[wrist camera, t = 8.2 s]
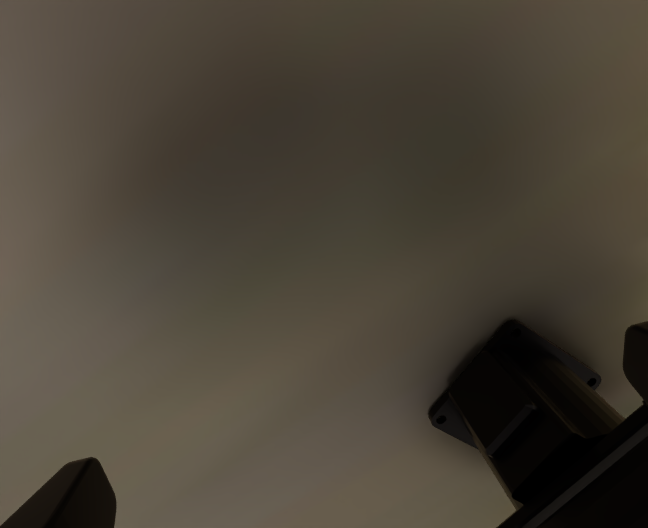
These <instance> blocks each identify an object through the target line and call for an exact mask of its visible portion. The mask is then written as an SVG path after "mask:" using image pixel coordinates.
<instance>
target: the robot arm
mask: <svg viewBox="0 0 648 528" xmlns="http://www.w3.org/2000/svg"><path fill="white" fill-rule="evenodd" d="M516 328H517V329H516ZM513 329H516V331H515V332H514V333H512V334H511V331H512V330H513ZM623 370H624V373H625V376H626V378H627V379H628V381H629V382H630V383H631V385H632V386H633V387H634V388H635V390H636V391H637V392H638V393H639V395H640V396H641V397H642V398H643V401H642V403H643V405H642V406H641V407H639V408H638V409H637V410H636V411H635V412H633V413H632V414H631V415H630V416H629V417H627V418H626V419H625V418H623V417H622V416H621V415H620V414H619V413H618V412H617V411H616V410H615V409H614V408H613V407H611V406H610V405H609V404H608V403H607V402H606V401H605V400H604V399H603V398H602V397H600V396H599V395H598V394H597V393H596V392H595V391H594V390H595V389H596V388H597V387H598V386H599V384H600V382H601V377H600V376H599V375H598V374H597V373H596V372H595V371H594V370H592V369H591V368H589V367H588V366H586V365H585V364H583V363H582V362H580V361H579V360H577V359H576V358H574V357H573V356H571V355H570V354H568V353H567V352H565V351H564V350H562V349H561V348H559V347H557V346H556V345H554V344H553V343H551V342H550V341H548V340H547V339H545V338H544V337H542V336H541V335H539V334H538V333H536V332H535V331H533V330H532V329H530V328H529V327H527V326H526V325H524V324H523V323H521V322H520V321H518V320H509V321H507V322H506V323H505V324H504V325H503V326H502V327H501V328H500V329H499V331H498V332H497V333H496V334H495V335H494V336H493V338H492V339H491V340H490V341H489V342H488V344H487V345H486V346H485V347H484V348H483V349H482V351H481V352H480V353H479V354H478V355H477V356H476V358H475V359H474V360H473V361H472V362H471V364H470V365H469V366H468V367H467V368H466V369H465V371H464V372H463V373H462V374H461V375H460V377H459V378H458V379H457V380H456V381H455V382H454V384H453V385H452V386H451V387H450V388H449V389H448V391H447V392H446V393H445V394H444V395H443V397H442V398H441V399H440V400H439V401H438V402H437V404H436V405H435V406H434V407H433V408H432V409H431V411H430V413H429V419H430V421H431V423H432V425H433V426H434V427H436V428H438V429H440V430H442V431H444V432H445V433H447V434H449V435H451V436H453V437H455V438H457V439H459V440H461V441H463V442H465V443H467V444H469V445H471V446H473V447H475V448H477V449H479V450H480V452H481V454H482V455H483V457H484V458H485V460H486V462H487V463H488V465H489V467H490V468H491V470H492V471H493V473H494V475H495V476H496V478H497V480H498V481H499V483H500V484H501V486H502V488H503V489H504V491H505V493H506V494H507V496H508V497H509V499H510V501H511V502H512V504H513V506H514V507H515V509H516V510H517V511H515V512H514V513H513V514H512V515H511V516H510V517H508V518H507V519H506V520H505V521H504V522H502V523H501V524H500V525H499V526H498V527H496V528H648V321H647V322H643V323H639V324H635V325H631V326H630V327H628V329H627V330H626V332H625V342H624V354H623ZM589 379H590V380H589ZM588 380H589V381H588ZM441 415H443V416H442V417H441V418H438V417H439V416H441ZM437 418H438V419H437ZM115 516H116V497H115V493H114V491H113V489H112V487H111V485H110V483H109V480H108V478H107V476H106V474H105V472H104V470H103V468H102V466H101V464H100V462H99V461H98V460H97V459H96V458H93V457H89V458H85V459H80V460H76V461H72V462H69V463H67V464H66V465H64V466H63V467H62V468H61V469H60V470H59V471H58V472H57V473H56V474H55V475H54V476H53V477H52V478H51V479H50V480H48V481H47V482H46V483H45V484H44V485H43V486H42V487H41V488H40V489H39V490H38V491H37V492H36V493H35V494H34V495H33V496H32V497H31V498H29V499H28V500H27V501H26V502H25V503H24V504H23V505H22V506H21V507H20V508H19V509H18V510H17V511H16V512H15V513H14V514H13V515H11V516H10V517H9V518H8V519H7V520H6V521H5V522H4V523H3V524H2V525H1V526H0V528H114V525H115Z"/></svg>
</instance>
